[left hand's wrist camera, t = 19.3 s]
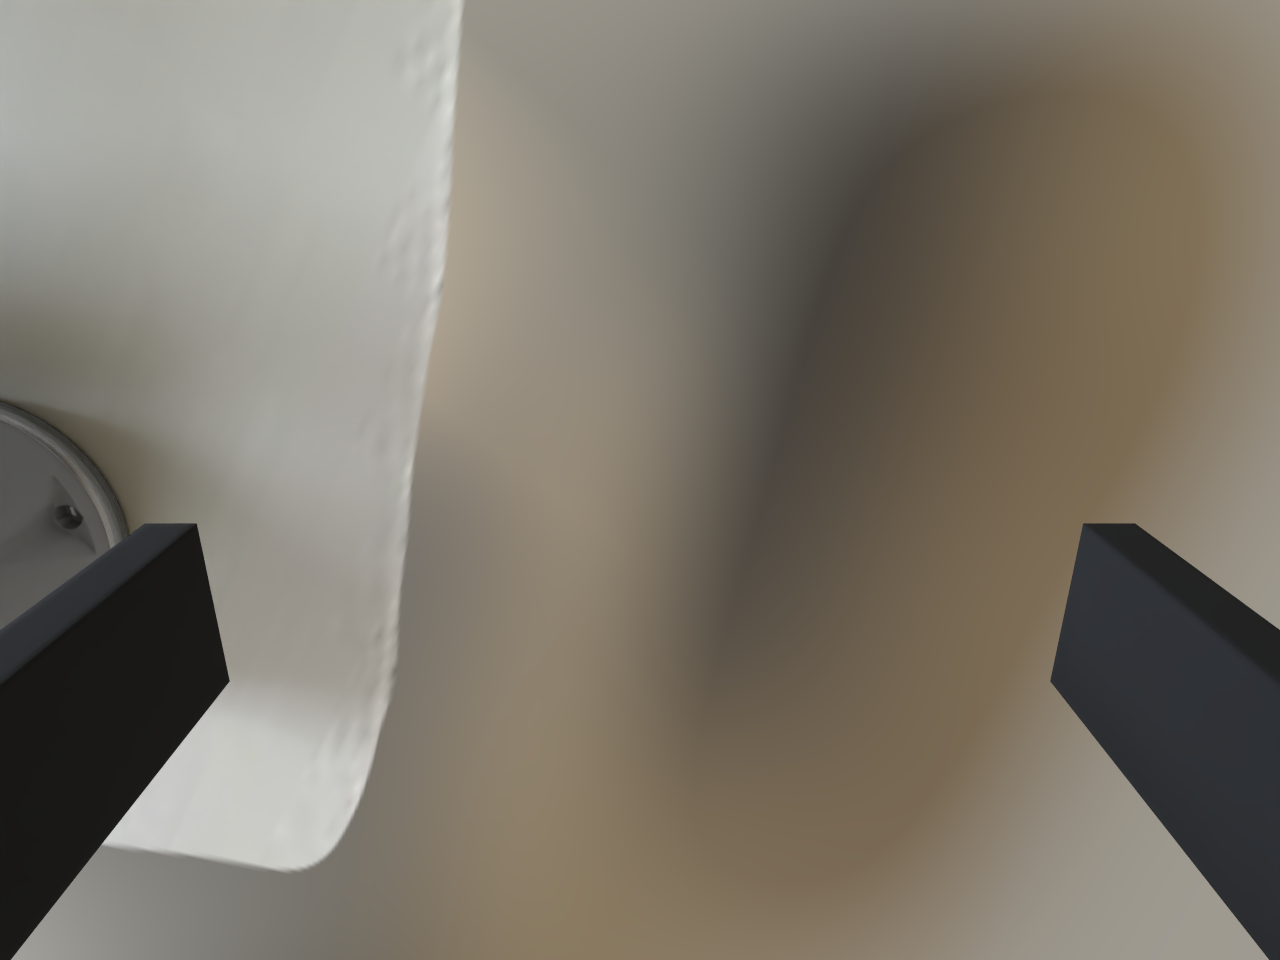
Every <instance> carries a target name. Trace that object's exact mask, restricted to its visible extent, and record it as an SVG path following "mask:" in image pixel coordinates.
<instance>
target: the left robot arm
mask: <svg viewBox="0 0 1280 960" xmlns="http://www.w3.org/2000/svg"><path fill="white" fill-rule="evenodd" d="M228 683H229V676H228V671H227V666H226V661H225V657H224V652H223V647H222V642H221V638H220V633H219V628H218V623H217V618H216V614H215V609H214V604H213V599H212V595H211V590H210V585H209V580H208V575H207V571H206V566H205V561H204V556H203V551H202V547H201V542H200V537H199V532H198V528H197V524H144V525H142V526H141V527H140V528H138V529H137V530H136V531H134V532H133V533H131V534H130V535H129V536H128V533H127V528H126V524H125V520H124V517H123V515H122V512H121V509H120V506H119V504H118V502H117V500H116V498H115V496H114V494H113V492H112V490H111V489H110V487H109V485H108V483H107V482H106V480H105V479H104V478H103V476H102V475H101V473H100V472H99V470H98V469H97V468H96V467H95V466H94V464H93V463H92V462H91V461H90V460H89V459H88V458H87V456H86V455H85V454H84V453H83V452H82V451H81V450H80V449H79V448H78V447H77V446H75V445H74V444H73V443H72V442H71V441H70V440H69V439H67V438H66V437H65V436H64V435H62V434H61V433H60V432H58V431H57V430H56V429H54V428H53V427H51V426H50V425H48V424H46V423H45V422H43V421H42V420H40V419H38V418H36V417H35V416H33V415H31V414H29V413H27V412H25V411H23V410H20V409H18V408H16V407H14V406H11V405H8V404H5V403H3V402H0V960H11V959H12V957H13V956H14V955H15V954H16V952H17V951H18V950H19V948H20V947H21V946H22V945H23V943H24V942H25V941H26V940H27V938H28V937H29V936H30V934H31V933H32V932H33V931H34V929H35V928H36V927H37V926H38V924H39V923H40V922H41V920H42V919H43V918H44V917H45V915H46V914H47V913H48V912H49V910H50V909H51V908H52V907H53V905H54V904H55V903H56V901H57V900H58V899H59V898H60V896H61V895H62V894H63V893H64V891H65V890H66V889H67V887H68V886H69V885H70V884H71V882H72V881H73V880H74V879H75V877H76V876H77V875H78V873H79V872H80V871H81V870H82V868H83V867H84V866H85V865H86V863H87V862H88V861H89V859H90V858H91V857H92V856H93V854H94V853H95V852H96V851H97V849H98V848H99V847H100V845H101V844H102V843H103V842H104V840H105V839H106V838H107V837H108V835H109V834H110V833H111V831H112V830H113V829H114V828H115V826H116V825H117V824H118V823H119V821H120V820H121V819H122V818H123V816H124V815H125V814H126V812H127V811H128V810H129V809H130V807H131V806H132V805H133V804H134V802H135V801H136V800H137V798H138V797H139V796H140V795H141V793H142V792H143V791H144V790H145V788H146V787H147V786H148V784H149V783H150V782H151V781H152V779H153V778H154V777H155V776H156V774H157V773H158V772H159V770H160V769H161V768H162V767H163V765H164V764H165V763H166V762H167V760H168V759H169V758H170V756H171V755H172V754H173V753H174V751H175V750H176V749H177V748H178V746H179V745H180V744H181V742H182V741H183V740H184V739H185V737H186V736H187V735H188V734H189V732H190V731H191V730H192V728H193V727H194V726H195V725H196V723H197V722H198V721H199V720H200V718H201V717H202V716H203V714H204V713H205V712H206V711H207V709H208V708H209V707H210V706H211V704H212V703H213V702H214V700H215V699H216V698H217V697H218V695H219V694H220V693H221V692H222V690H223V689H224V688H225V686H226V685H227V684H228ZM1051 683H1052V684H1053V685H1054V686H1055V688H1056V689H1057V690H1058V691H1059V693H1060V694H1061V695H1062V697H1063V698H1064V699H1065V700H1066V702H1067V703H1068V704H1069V706H1070V707H1071V708H1072V709H1073V711H1074V712H1075V713H1076V714H1077V716H1078V717H1079V718H1080V719H1081V721H1082V722H1083V723H1084V725H1085V726H1086V727H1087V728H1088V730H1089V731H1090V732H1091V734H1092V735H1093V736H1094V737H1095V739H1096V740H1097V741H1098V742H1099V744H1100V745H1101V746H1102V747H1103V749H1104V750H1105V751H1106V753H1107V754H1108V755H1109V756H1110V758H1111V759H1112V760H1113V762H1114V763H1115V764H1116V765H1117V767H1118V768H1119V769H1120V770H1121V772H1122V773H1123V774H1124V776H1125V777H1126V778H1127V779H1128V781H1129V782H1130V783H1131V784H1132V786H1133V787H1134V788H1135V790H1136V791H1137V792H1138V793H1139V795H1140V796H1141V797H1142V798H1143V800H1144V801H1145V802H1146V803H1147V805H1148V806H1149V807H1150V809H1151V810H1152V811H1153V812H1154V814H1155V815H1156V816H1157V818H1158V819H1159V820H1160V821H1161V822H1162V824H1163V825H1164V826H1165V828H1166V829H1167V830H1168V831H1169V833H1170V834H1171V835H1172V837H1173V838H1174V839H1175V840H1176V842H1177V843H1178V844H1179V845H1180V847H1181V848H1182V849H1183V851H1184V852H1185V853H1186V854H1187V856H1188V857H1189V858H1190V859H1191V861H1192V862H1193V863H1194V865H1195V866H1196V867H1197V868H1198V870H1199V871H1200V872H1201V873H1202V875H1203V876H1204V877H1205V879H1206V880H1207V881H1208V882H1209V884H1210V885H1211V886H1212V887H1213V889H1214V890H1215V891H1216V892H1217V894H1218V895H1219V896H1220V898H1221V899H1222V900H1223V901H1224V903H1225V904H1226V905H1227V907H1228V908H1229V909H1230V910H1231V912H1232V913H1233V914H1234V915H1235V917H1236V918H1237V919H1238V921H1239V922H1240V923H1241V924H1242V926H1243V927H1244V928H1245V929H1246V931H1247V932H1248V933H1249V935H1250V936H1251V937H1252V938H1253V940H1254V941H1255V942H1256V943H1257V945H1258V946H1259V947H1260V949H1261V950H1262V951H1263V952H1264V954H1265V955H1266V956H1267V957H1268V959H1269V960H1280V630H1279V629H1278V628H1276V627H1275V626H1274V625H1272V624H1271V623H1269V622H1268V621H1267V620H1265V619H1264V618H1263V617H1261V616H1260V615H1259V614H1257V613H1256V612H1254V611H1253V610H1252V609H1250V608H1249V607H1248V606H1246V605H1245V604H1244V603H1242V602H1241V601H1240V600H1238V599H1237V598H1236V597H1234V596H1233V595H1231V594H1230V593H1229V592H1227V591H1226V590H1225V589H1223V588H1222V587H1221V586H1219V585H1218V584H1216V583H1215V582H1214V581H1212V580H1211V579H1210V578H1208V577H1207V576H1206V575H1204V574H1203V573H1202V572H1200V571H1199V570H1197V569H1196V568H1195V567H1193V566H1192V565H1191V564H1189V563H1188V562H1187V561H1185V560H1184V559H1183V558H1181V557H1180V556H1178V555H1177V554H1176V553H1174V552H1173V551H1172V550H1170V549H1169V548H1168V547H1166V546H1165V545H1164V544H1162V543H1161V542H1159V541H1158V540H1157V539H1155V538H1154V537H1153V536H1151V535H1150V534H1149V533H1147V532H1146V531H1144V530H1143V529H1142V528H1140V527H1139V526H1138V525H1136V524H1083V528H1082V533H1081V537H1080V542H1079V547H1078V552H1077V556H1076V561H1075V566H1074V571H1073V575H1072V580H1071V585H1070V590H1069V595H1068V599H1067V604H1066V609H1065V614H1064V619H1063V623H1062V628H1061V633H1060V638H1059V642H1058V647H1057V652H1056V657H1055V661H1054V666H1053V671H1052V676H1051Z"/></svg>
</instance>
